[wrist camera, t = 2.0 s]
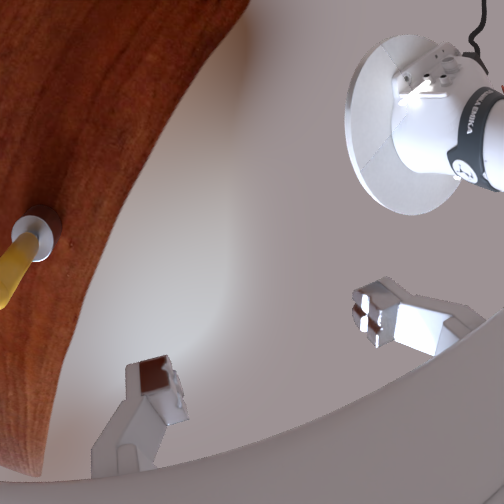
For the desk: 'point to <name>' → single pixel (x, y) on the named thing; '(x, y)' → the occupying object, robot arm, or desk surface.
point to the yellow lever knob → (28, 247)
